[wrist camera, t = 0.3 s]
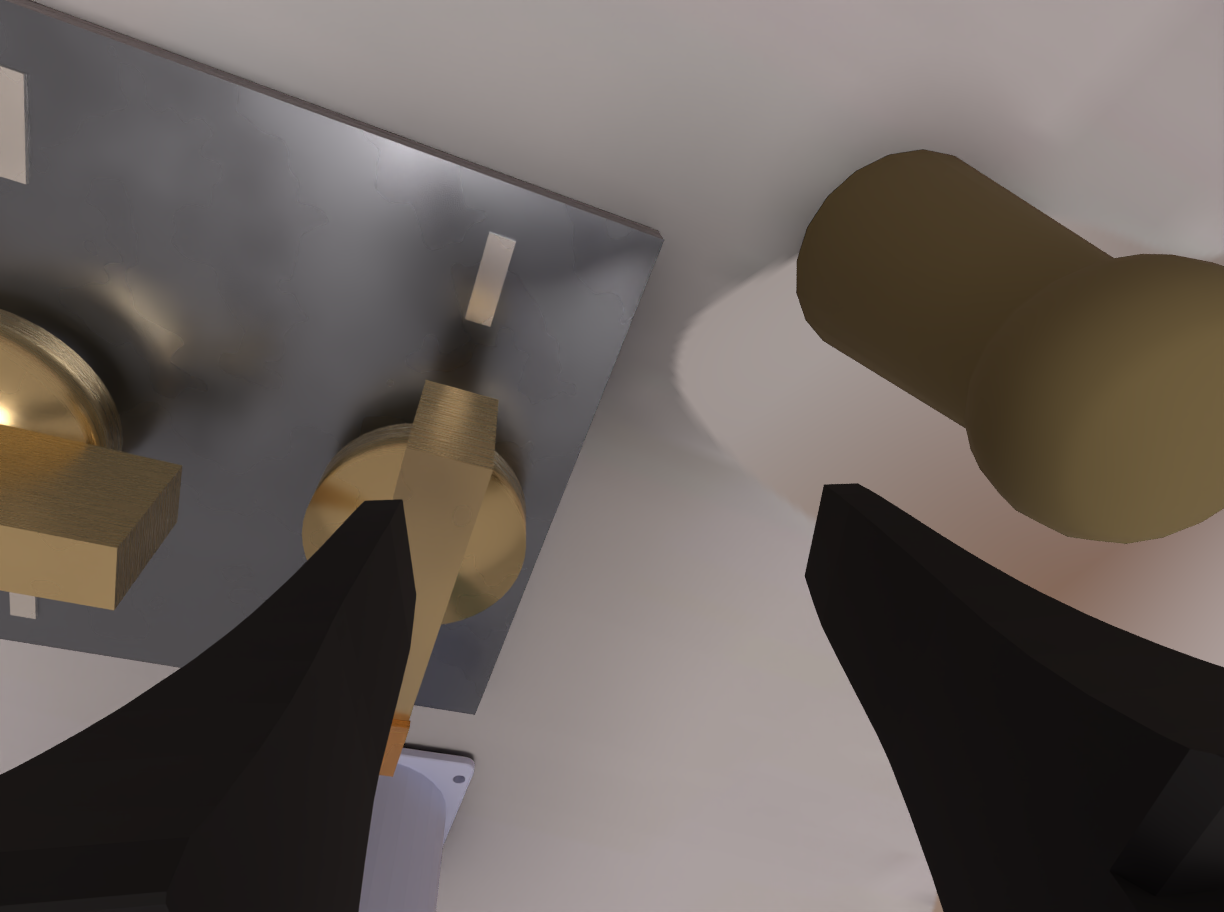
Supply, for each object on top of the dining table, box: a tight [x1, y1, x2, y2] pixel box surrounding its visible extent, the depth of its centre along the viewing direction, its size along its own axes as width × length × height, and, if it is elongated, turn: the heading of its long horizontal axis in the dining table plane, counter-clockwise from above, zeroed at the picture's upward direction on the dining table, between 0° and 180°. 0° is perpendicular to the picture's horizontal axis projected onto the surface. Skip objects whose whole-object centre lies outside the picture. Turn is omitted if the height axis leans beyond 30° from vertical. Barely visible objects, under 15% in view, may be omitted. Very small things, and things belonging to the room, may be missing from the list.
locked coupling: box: [302, 380, 526, 777], centre depth 19 cm, size 6×10×5 cm, turn 159°
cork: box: [796, 149, 1224, 544], centre depth 16 cm, size 6×6×11 cm
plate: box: [0, 0, 664, 715], centre depth 20 cm, size 19×22×2 cm
